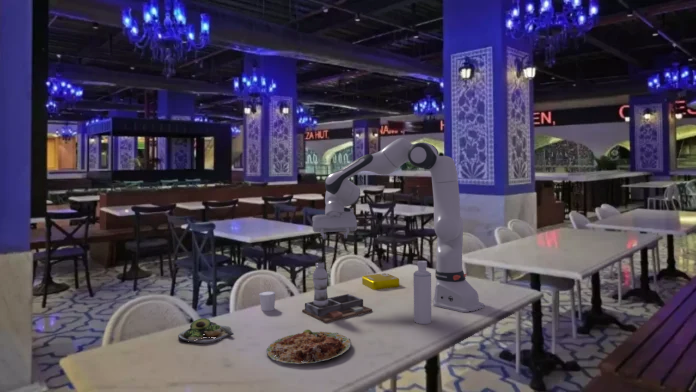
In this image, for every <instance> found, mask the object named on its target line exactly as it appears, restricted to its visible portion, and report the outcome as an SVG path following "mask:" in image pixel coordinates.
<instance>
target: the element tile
mask: <svg viewBox="0 0 696 392" xmlns="http://www.w3.org/2000/svg"><path fill="white" fill-rule="evenodd" d="M361 279H362V281H361V283H362V285H363V286H365V287H366V288H369V289H371V290H373V291H376V290H377V291H378V290H386V289H394V288H399V287H400V278H399V277H396V276H394V275H391V273H386V272H383V273H376V274H375V273H374V274H368V275H366V274H365V275H363V276H361Z"/></svg>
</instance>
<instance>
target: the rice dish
mask: <svg viewBox="0 0 696 392" xmlns="http://www.w3.org/2000/svg"><path fill="white" fill-rule="evenodd" d="M351 346H352V341H351V338H349V337H347V336H345V335H343V334H341V333H340V334H339V333H338V332H330V331H312V330H310V329H305V330H304V331H302V332H297V333H295V334H290V335H287V336H282V338H278V339H277V340H275V341H273V342H272V343H270V345H268V347H267V348H266V355H267V357H269V358H270V359H271V360H272V361H275V362H278V363H283V364H284V363H285V364H296V365H299V364H303V362H304V361H305V362H307V361H308V362H307V364H312V363H318V362H323V361H328V360H330V359H333V358H336V357H338V356H342V355H343V354H345V353H346V352H347V351H348V350H350V347H351ZM275 355H276V356H275ZM274 356H275V357H274ZM278 356H279V357H278ZM276 357H277V358H276ZM303 360H304V361H303ZM301 361H302V362H301Z"/></svg>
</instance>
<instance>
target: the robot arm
mask: <svg viewBox="0 0 696 392" xmlns="http://www.w3.org/2000/svg"><path fill="white" fill-rule="evenodd" d="M407 162H409V163H410V164H411V165H412V166H414V167H415V168H418V169H419V168H420V169H424V170H429V172H430V175H431V183H432V197H433V224H434V226H433V227H434V228H433V229H434V232H435V235H436V237H437V239H436V240H437V241H436V251H435V255H436V257H435V258H436V269H435V272H434V273H435V275H434V276H435V280H436V281H435V289H434V294H433V295H434V296H433V300H432V302H433V304H432V305H433V306H434V307H438V308H444V309H448V310H452V311H456V312H460V313H461V312H462V313H469V311H471V312H475V310H476V311H479V310H482V309H483V307H484V308H485V303H483V302H480V300H479V294H478V292H477V290H476V289H475V288H474V287H473V286H472V285H471V284H470V283H469V282H468V281H467V279H466V277H467V276H468V273H465V272H464V270H463V243H464V241H463V240H464V235H463V234H464V222H463V218H462V217H461V206H460V205H461V203H460V201H461V200H460V199H461V198H460V187H459V177H458V171H457V166H456V163H455V160H454V159H453V158H452V157H450V156H448V155H439V151H438V149H437V147H436V146H435V145H433V144H432V143H428V142H417V143H414V144H412V143H411V141H409V139H406V138H405V137H398V138H397V139H395V140H393V141H392V142H390V143H389V144H387V145H386V146H384V147H383V148H382V149H381V150H379V151H377V152H375V153H371V154H363V155H362V156H360V157H359V158H357V159H355V160H353V161H352V162H350V163H348V164H347V165H345V166H344V167H341V168H339V170H335V171H334V172H332V173H330V174H328V175H327V176H326V178H325V182H324V187H325V190H326V191H325V194H324V195H325V197H324V203H325V207H324V211H325V212H324V213H323V214H322V213H321V214H314V215H313V216H312V218H311V221H312V231H313V232H314V233H320V235H321V236H322V240H326V239H327V233H328V232H329V233H331V232H332V233H333V232H334V233H335V232H337V233H338V232H343V238H344V239H348V235H349V234H350V232H356V231H357V230H358V224H357V223H358V221H357V217H356V215H355V214H354V210H353V208H350V207H349V206H351V205H354V204H355V203H357V202H358V201H359V199H360V198H361V197H360V196H361V188H360V187H358V186H357V185H356V184H355V183H353V182H352V181H351V180H350V179H351V178H352V177H354V176H355V175H357V174H359V173H361V172H372V173H375V174H378V175H383V176H384V175H385V176H388V175H390V174H392V173H394V172H395V171H396V170H397V169H398V168H400V167H401V166H403V165H404V164H405V163H407ZM481 308H482V309H481ZM478 309H479V310H478Z"/></svg>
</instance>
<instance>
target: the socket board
mask: <svg viewBox="0 0 696 392" xmlns="http://www.w3.org/2000/svg"><path fill="white" fill-rule="evenodd" d="M328 301H329V306H328V307H323V308H318V307H316V306H313V302H314V300H313V301H309V302H304V309H301V310H302V311H301V312H302V313H304V314H306V315H308V316H310V317H312V318H314V319H316V320H318V321H321V322H322V323H324V324H328V323H331V322H332V323H333V322H336V321H340V320H343V319H347V318H351V317H355V316H360V315H364V314H368V313H372V312H373V309H372V308H370V307H368V306H365V305H364V299H363V298H361V297H358V296H354V295H352V294H349V293H346V294H342V295H341V294H340V295H337V296H336V295H335V296H332V297H328Z"/></svg>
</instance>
